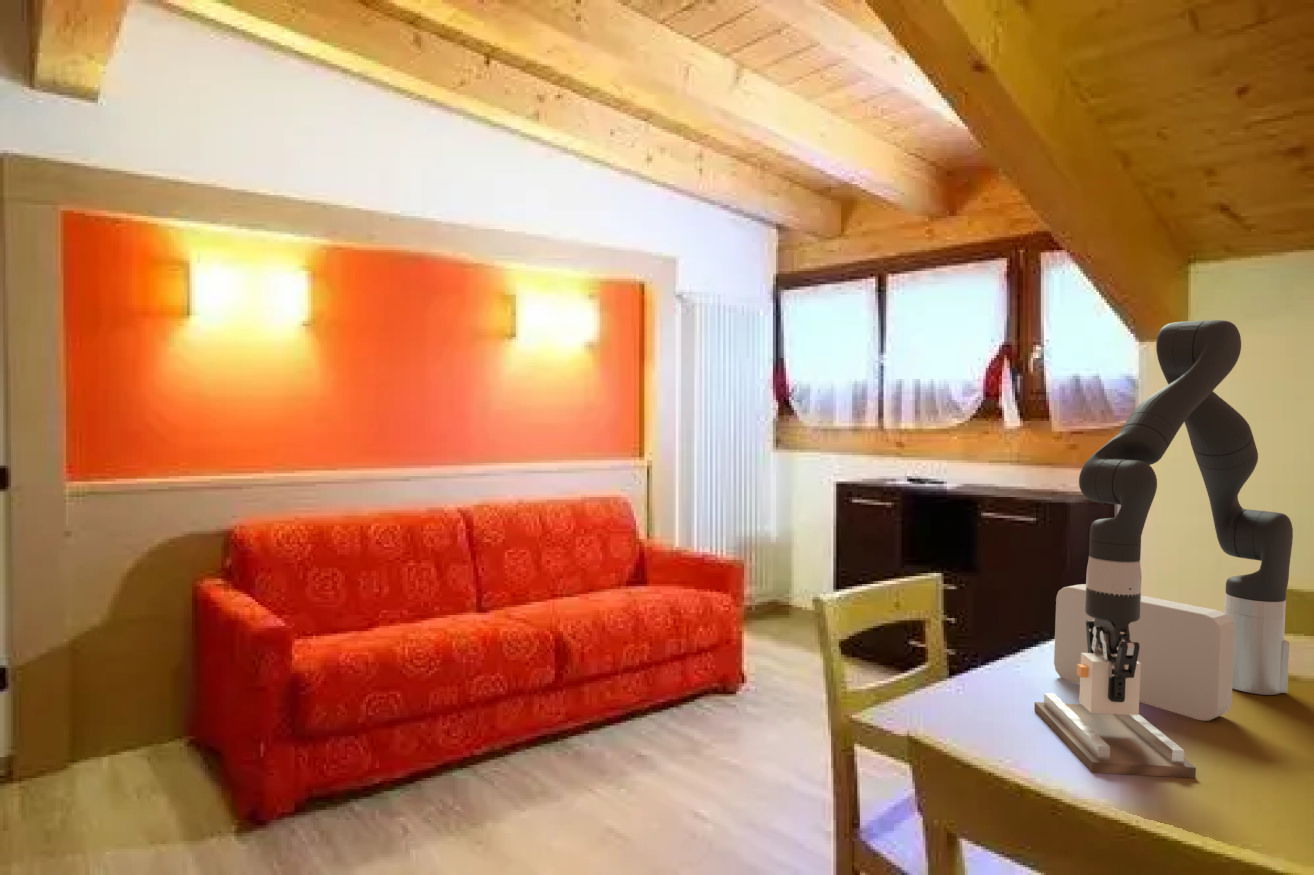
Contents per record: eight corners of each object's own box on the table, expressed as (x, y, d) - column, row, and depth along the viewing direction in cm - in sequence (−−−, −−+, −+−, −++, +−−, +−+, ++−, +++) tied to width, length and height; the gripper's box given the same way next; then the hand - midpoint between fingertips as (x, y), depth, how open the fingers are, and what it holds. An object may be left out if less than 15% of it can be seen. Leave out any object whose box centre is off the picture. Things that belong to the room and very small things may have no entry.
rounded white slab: (1237, 716, 143) (1242, 611, 142) (1216, 725, 139) (1221, 617, 138) (1075, 670, 167) (1078, 580, 166) (1053, 676, 163) (1056, 584, 162)
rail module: (1125, 704, 133) (1127, 654, 133) (1138, 715, 129) (1140, 663, 128) (1072, 701, 134) (1073, 652, 134) (1083, 712, 130) (1085, 661, 129)
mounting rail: (1115, 707, 142) (1116, 696, 142) (1183, 764, 120) (1184, 750, 120) (1043, 704, 143) (1044, 692, 143) (1097, 759, 121) (1098, 745, 121)
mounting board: (1120, 714, 143) (1120, 706, 143) (1195, 778, 119) (1195, 767, 119) (1034, 710, 144) (1034, 702, 144) (1091, 772, 120) (1092, 762, 120)
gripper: (1161, 598, 123) (1156, 713, 124) (1118, 578, 137) (1114, 681, 138) (1107, 596, 124) (1103, 711, 125) (1070, 576, 138) (1066, 679, 139)
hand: (1108, 694), depth 131 cm, fingers closed on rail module, 4 cm apart
